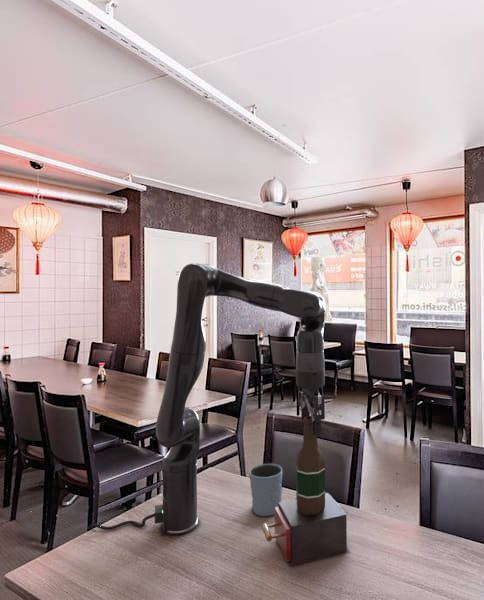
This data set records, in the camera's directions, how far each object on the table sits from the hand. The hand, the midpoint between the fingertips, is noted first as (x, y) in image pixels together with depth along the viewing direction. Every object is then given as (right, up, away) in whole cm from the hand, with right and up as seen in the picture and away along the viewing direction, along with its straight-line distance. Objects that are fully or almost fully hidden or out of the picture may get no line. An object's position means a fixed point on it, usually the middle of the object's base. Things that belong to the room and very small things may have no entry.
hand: (310, 429), depth 108 cm
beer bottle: (0, -21, 0) cm, 21 cm away
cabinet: (0, -30, +1) cm, 30 cm away
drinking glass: (-14, -30, +19) cm, 38 cm away
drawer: (-3, -30, -1) cm, 30 cm away
